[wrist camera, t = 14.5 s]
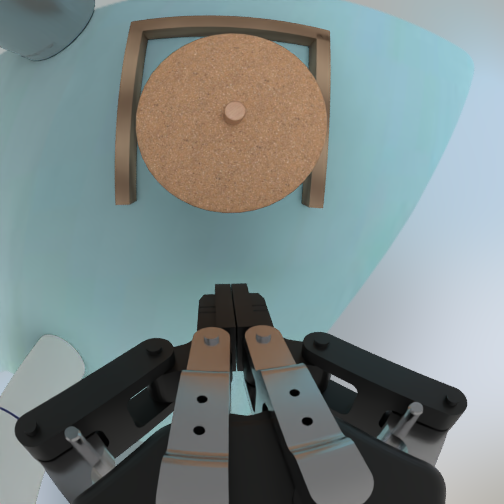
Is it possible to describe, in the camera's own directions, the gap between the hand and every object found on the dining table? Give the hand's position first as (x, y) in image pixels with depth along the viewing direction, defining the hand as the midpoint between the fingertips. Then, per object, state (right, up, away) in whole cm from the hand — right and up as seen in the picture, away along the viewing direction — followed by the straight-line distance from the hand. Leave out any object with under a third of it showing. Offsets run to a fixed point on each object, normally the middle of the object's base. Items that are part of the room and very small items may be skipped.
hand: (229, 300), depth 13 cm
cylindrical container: (-22, -11, +13) cm, 28 cm away
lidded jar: (-1, +12, +8) cm, 14 cm away
